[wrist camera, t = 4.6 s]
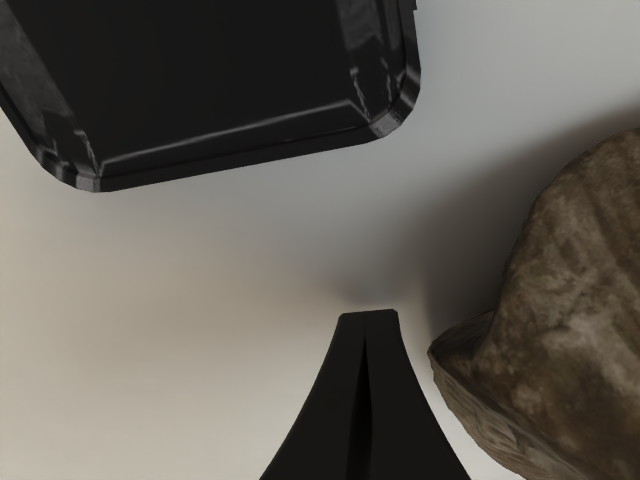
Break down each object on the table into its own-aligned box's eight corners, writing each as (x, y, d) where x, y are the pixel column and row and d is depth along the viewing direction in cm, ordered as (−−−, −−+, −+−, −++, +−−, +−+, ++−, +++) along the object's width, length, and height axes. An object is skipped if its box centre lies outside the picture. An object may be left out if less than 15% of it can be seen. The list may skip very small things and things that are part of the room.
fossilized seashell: (573, 512, 15) (939, 286, 11) (594, 758, 9) (1416, 450, 5) (389, 326, 16) (656, 66, 12) (299, 430, 10) (765, -11, 6)
